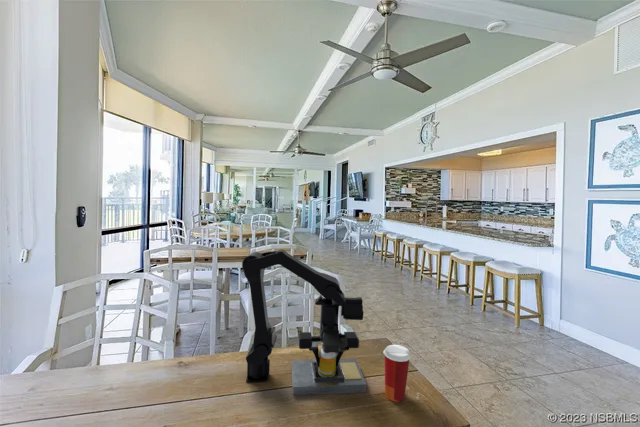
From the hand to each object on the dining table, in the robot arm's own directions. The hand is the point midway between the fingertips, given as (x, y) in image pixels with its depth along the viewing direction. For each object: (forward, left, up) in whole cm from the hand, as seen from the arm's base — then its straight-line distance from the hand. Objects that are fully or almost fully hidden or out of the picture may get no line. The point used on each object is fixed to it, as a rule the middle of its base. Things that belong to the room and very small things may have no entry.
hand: (327, 366), depth 98 cm
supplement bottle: (0, 0, -3) cm, 3 cm away
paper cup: (+19, -9, -5) cm, 22 cm away
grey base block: (0, 0, -4) cm, 4 cm away
